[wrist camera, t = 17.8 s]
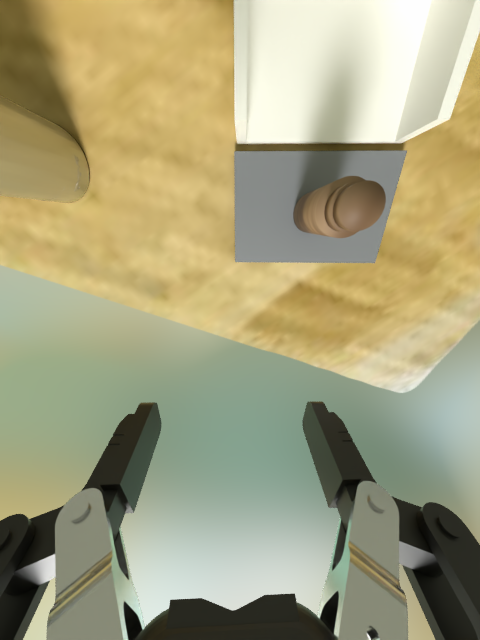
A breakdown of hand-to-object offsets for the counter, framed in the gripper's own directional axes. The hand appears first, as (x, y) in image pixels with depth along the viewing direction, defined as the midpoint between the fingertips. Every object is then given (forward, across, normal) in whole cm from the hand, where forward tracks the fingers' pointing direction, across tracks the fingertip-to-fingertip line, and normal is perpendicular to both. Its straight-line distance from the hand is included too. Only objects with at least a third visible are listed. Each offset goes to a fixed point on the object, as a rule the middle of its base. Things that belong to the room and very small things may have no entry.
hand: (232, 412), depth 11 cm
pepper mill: (+25, -11, -10) cm, 29 cm away
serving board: (+26, -11, -10) cm, 30 cm away
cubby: (+27, -11, -24) cm, 38 cm away
